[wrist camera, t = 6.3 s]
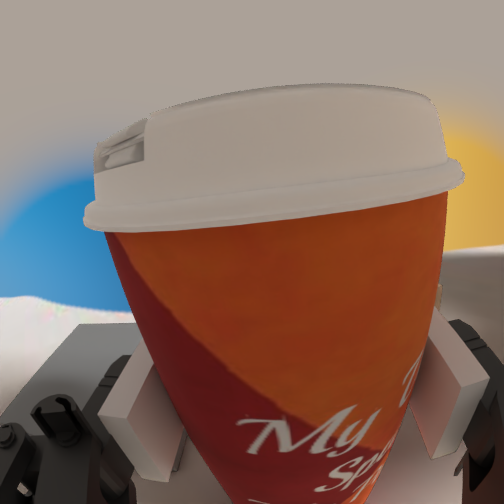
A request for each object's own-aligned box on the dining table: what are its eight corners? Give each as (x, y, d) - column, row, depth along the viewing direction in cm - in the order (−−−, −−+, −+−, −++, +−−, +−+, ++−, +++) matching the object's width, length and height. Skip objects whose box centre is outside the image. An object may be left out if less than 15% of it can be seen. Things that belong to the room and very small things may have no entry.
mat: (218, 324, 25) (217, 318, 25) (176, 471, 12) (173, 465, 12) (81, 329, 27) (79, 323, 27) (1, 426, 14) (-3, 420, 14)
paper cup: (313, 594, 5) (311, -9, 1) (181, 494, 11) (43, 166, 6) (419, 461, 10) (475, 112, 6) (293, 406, 16) (261, 128, 11)
